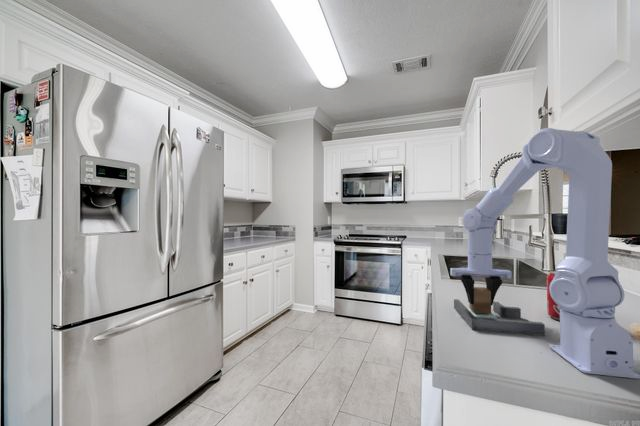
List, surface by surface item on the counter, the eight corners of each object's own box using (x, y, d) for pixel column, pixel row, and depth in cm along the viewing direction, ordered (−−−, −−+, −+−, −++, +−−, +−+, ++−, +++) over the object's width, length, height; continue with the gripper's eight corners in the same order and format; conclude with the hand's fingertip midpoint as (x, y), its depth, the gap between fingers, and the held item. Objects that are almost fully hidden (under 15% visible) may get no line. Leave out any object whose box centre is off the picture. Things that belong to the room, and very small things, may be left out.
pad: (497, 318, 69) (497, 317, 69) (471, 316, 70) (471, 315, 70) (488, 310, 75) (488, 309, 75) (464, 309, 76) (464, 308, 76)
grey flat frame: (544, 335, 59) (544, 324, 59) (471, 329, 62) (471, 318, 62) (511, 311, 74) (511, 302, 74) (454, 307, 77) (453, 299, 77)
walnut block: (491, 314, 70) (490, 291, 70) (474, 312, 71) (474, 290, 71) (485, 309, 74) (484, 287, 74) (469, 308, 75) (469, 286, 75)
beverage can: (586, 324, 65) (585, 275, 65) (557, 322, 66) (556, 274, 66) (568, 315, 71) (567, 270, 71) (541, 313, 72) (541, 269, 73)
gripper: (502, 252, 75) (503, 300, 75) (447, 251, 78) (447, 297, 78) (515, 255, 68) (516, 309, 68) (454, 254, 71) (454, 305, 71)
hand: (480, 303), depth 72 cm, fingers closed on walnut block, 4 cm apart
